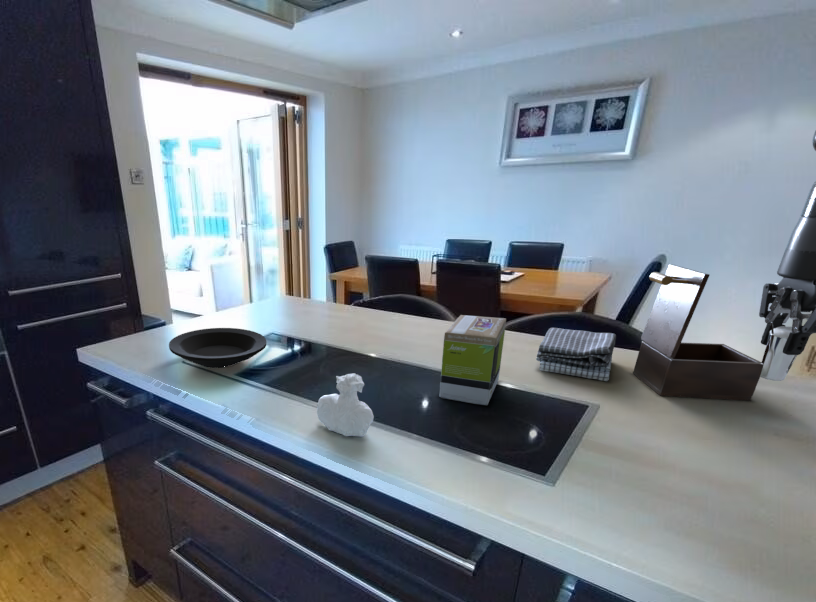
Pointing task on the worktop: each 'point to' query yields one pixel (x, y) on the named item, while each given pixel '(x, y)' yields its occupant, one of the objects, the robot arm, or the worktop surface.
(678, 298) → the lid
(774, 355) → the milkshake
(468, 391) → the tea box
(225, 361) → the plate
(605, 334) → the towel
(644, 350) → the chest
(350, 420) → the bust
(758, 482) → the worktop surface
